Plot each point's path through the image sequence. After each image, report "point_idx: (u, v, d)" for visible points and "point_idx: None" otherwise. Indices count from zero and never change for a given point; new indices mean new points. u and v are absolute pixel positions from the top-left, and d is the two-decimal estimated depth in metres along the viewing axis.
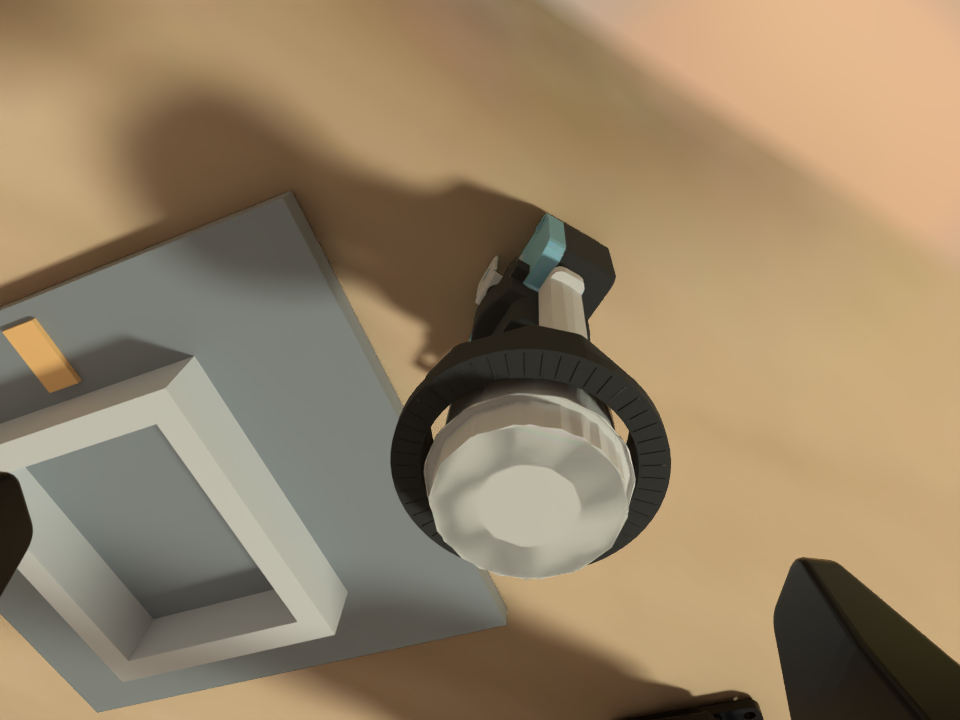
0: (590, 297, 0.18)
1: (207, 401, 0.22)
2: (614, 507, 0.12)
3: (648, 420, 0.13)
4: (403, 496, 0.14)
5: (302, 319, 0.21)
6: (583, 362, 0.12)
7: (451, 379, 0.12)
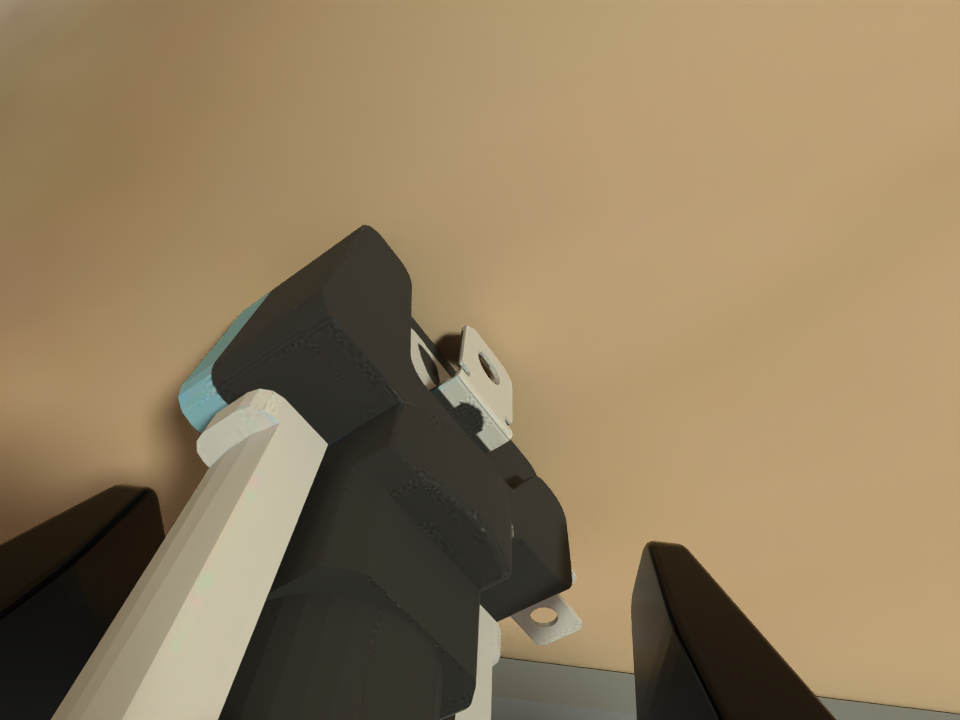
0: (343, 373, 0.07)
1: None
2: None
3: None
4: None
5: None
6: None
7: None
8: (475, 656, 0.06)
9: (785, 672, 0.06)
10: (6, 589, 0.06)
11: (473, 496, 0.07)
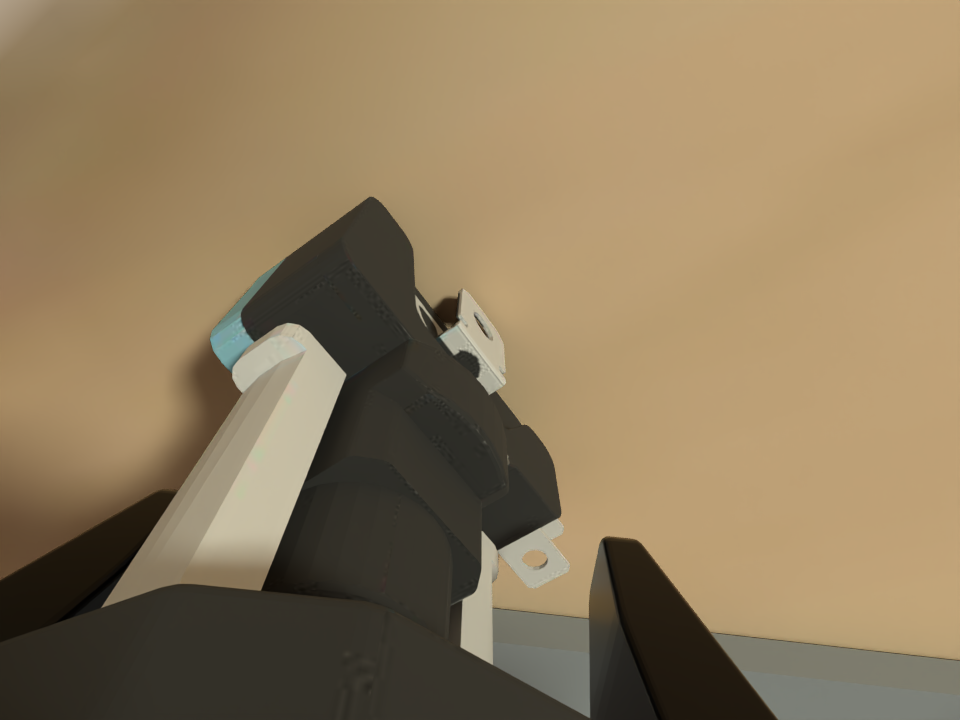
0: (359, 314, 0.08)
1: None
2: None
3: None
4: None
5: None
6: None
7: None
8: (480, 547, 0.07)
9: (726, 665, 0.06)
10: (64, 595, 0.06)
11: (475, 415, 0.07)
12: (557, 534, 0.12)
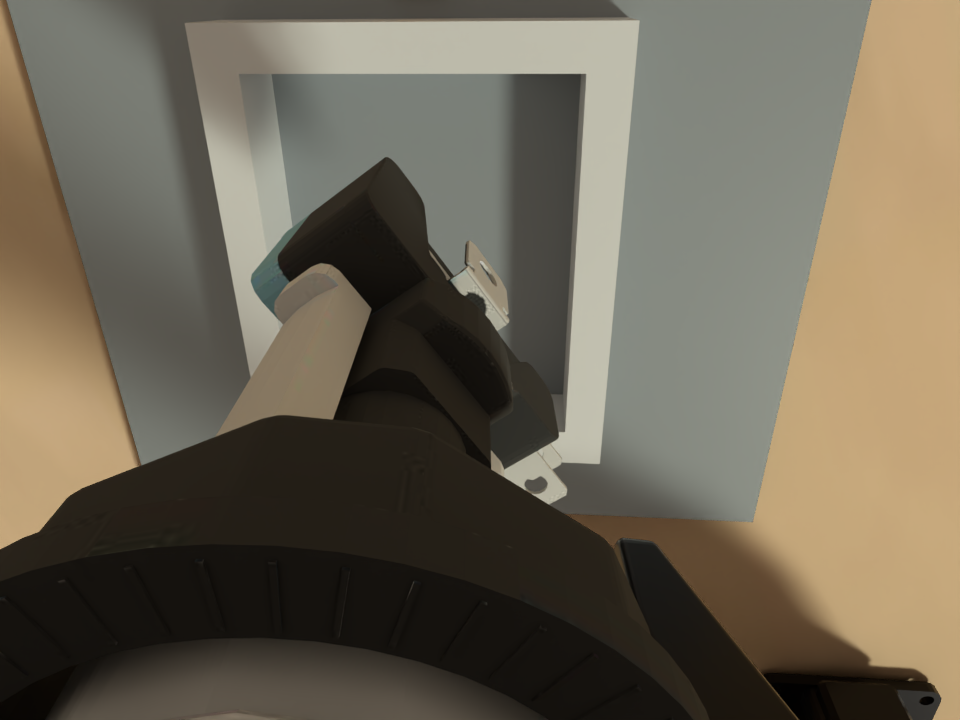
0: (381, 255, 0.09)
1: None
2: None
3: (178, 576, 0.03)
4: None
5: (807, 18, 0.15)
6: None
7: None
8: (489, 450, 0.08)
9: (746, 667, 0.06)
10: None
11: (484, 340, 0.09)
12: (556, 465, 0.13)
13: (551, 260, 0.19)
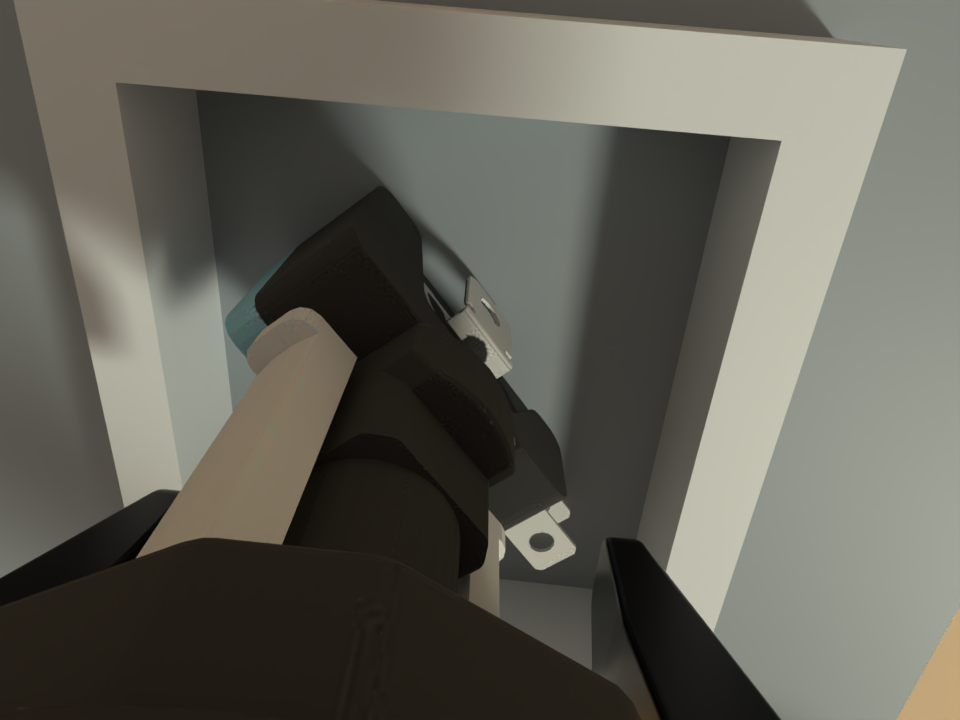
0: (369, 298, 0.08)
1: None
2: None
3: None
4: None
5: None
6: None
7: None
8: (487, 523, 0.07)
9: (729, 665, 0.06)
10: None
11: (482, 396, 0.08)
12: (563, 518, 0.12)
13: (634, 411, 0.12)
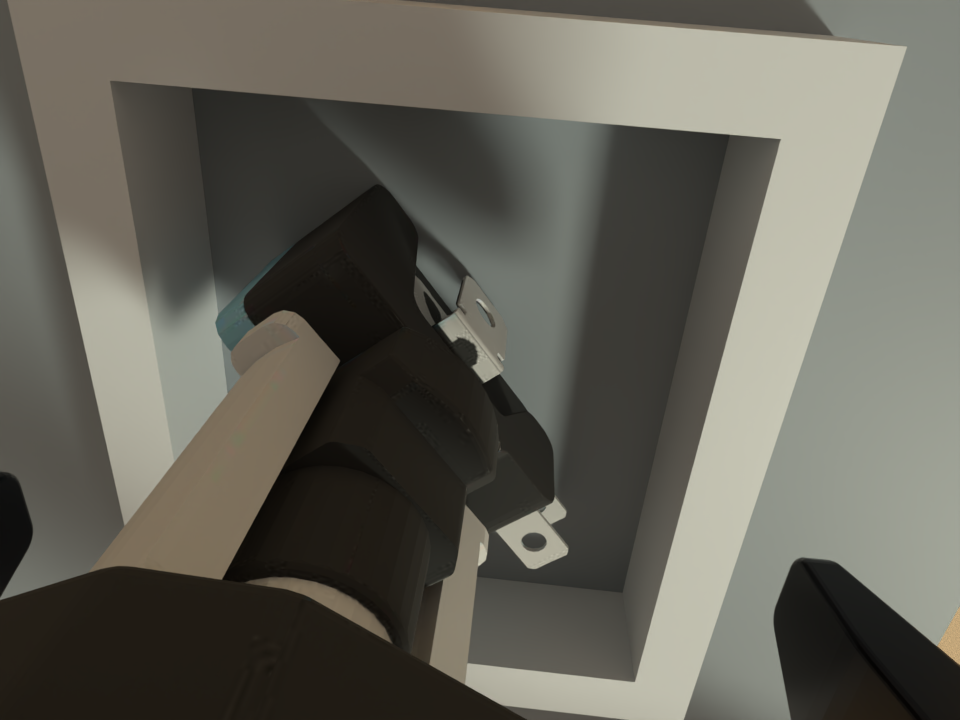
0: (353, 302, 0.08)
1: None
2: None
3: None
4: None
5: None
6: None
7: None
8: (458, 531, 0.07)
9: None
10: None
11: (461, 403, 0.08)
12: (560, 517, 0.12)
13: (633, 411, 0.12)
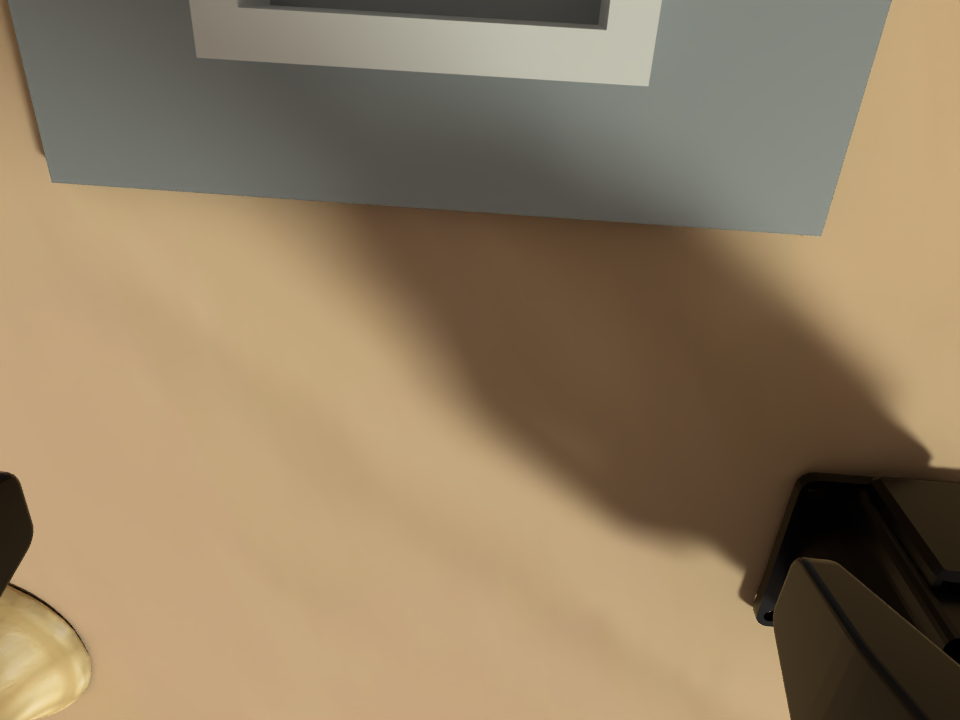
0: None
1: None
2: None
3: None
4: None
5: None
6: None
7: None
8: None
9: None
10: None
11: None
12: None
13: None
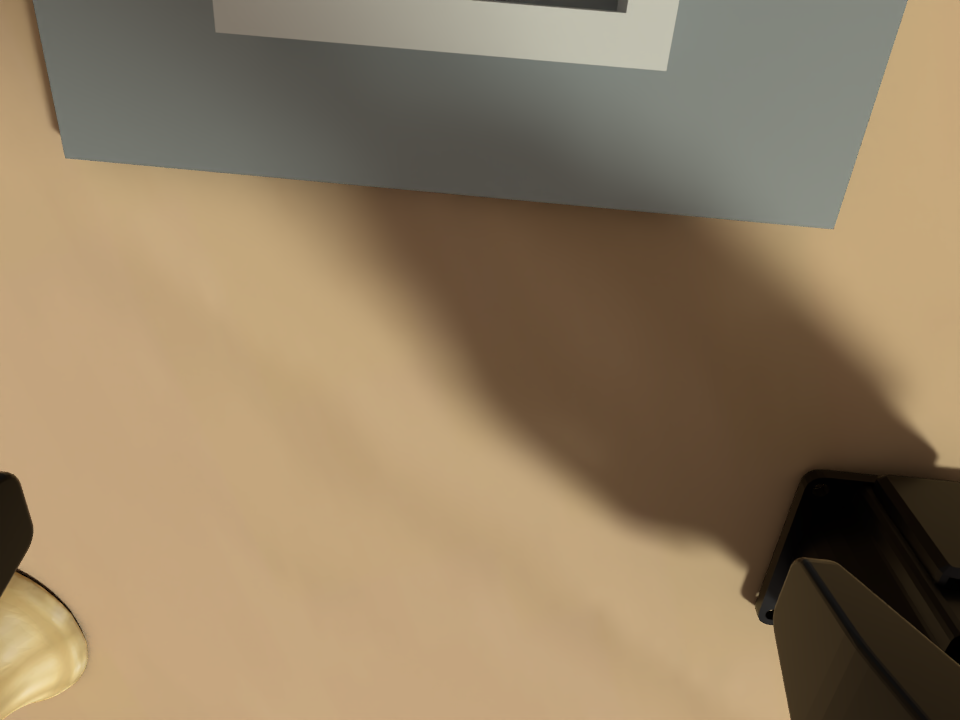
0: None
1: None
2: None
3: None
4: None
5: None
6: None
7: None
8: None
9: None
10: None
11: None
12: None
13: None
